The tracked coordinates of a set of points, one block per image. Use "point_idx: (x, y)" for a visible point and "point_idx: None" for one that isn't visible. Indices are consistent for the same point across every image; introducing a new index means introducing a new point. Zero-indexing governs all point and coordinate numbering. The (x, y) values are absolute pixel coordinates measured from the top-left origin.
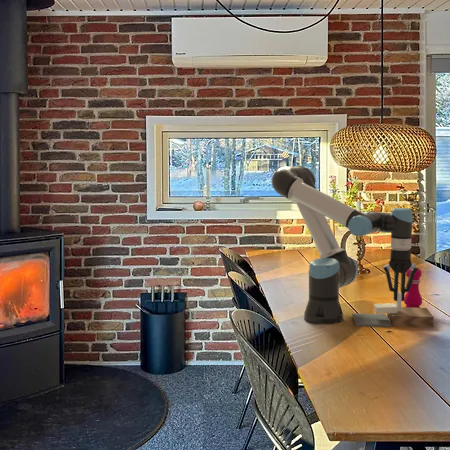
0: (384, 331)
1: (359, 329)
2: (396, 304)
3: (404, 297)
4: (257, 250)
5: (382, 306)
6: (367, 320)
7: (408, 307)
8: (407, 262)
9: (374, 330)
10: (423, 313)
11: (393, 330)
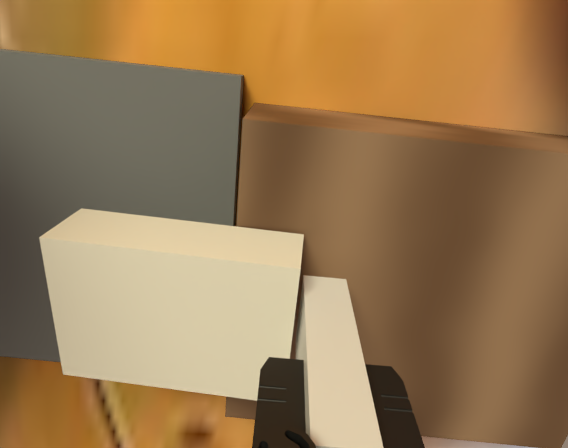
0: (169, 436)
1: (17, 401)
2: (301, 330)
3: None
4: None
5: (133, 355)
6: None
7: None
8: None
9: (110, 420)
10: (533, 364)
11: (228, 423)
